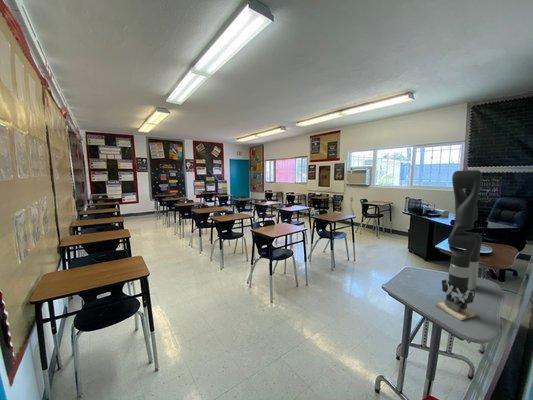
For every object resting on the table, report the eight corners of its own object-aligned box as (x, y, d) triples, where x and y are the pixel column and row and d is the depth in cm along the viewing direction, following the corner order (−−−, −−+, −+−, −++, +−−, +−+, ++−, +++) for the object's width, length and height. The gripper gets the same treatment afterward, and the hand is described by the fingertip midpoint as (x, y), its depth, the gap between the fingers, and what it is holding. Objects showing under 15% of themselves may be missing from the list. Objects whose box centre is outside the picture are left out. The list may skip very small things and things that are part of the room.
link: (453, 302, 118) (453, 297, 117) (466, 309, 112) (467, 303, 112) (445, 304, 116) (445, 299, 116) (457, 311, 110) (458, 306, 110)
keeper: (450, 301, 122) (451, 289, 121) (476, 315, 110) (478, 301, 109) (435, 305, 118) (436, 293, 117) (460, 320, 107) (462, 306, 106)
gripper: (481, 278, 106) (477, 311, 108) (448, 266, 119) (446, 295, 122) (470, 281, 104) (466, 315, 106) (438, 268, 117) (435, 298, 120)
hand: (455, 304), depth 114 cm, fingers closed on link, 6 cm apart
